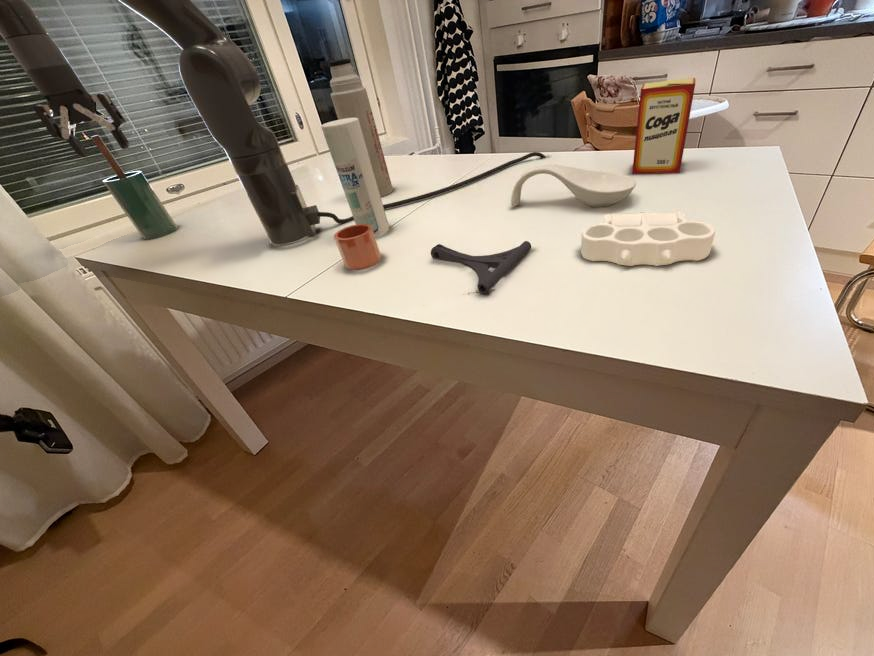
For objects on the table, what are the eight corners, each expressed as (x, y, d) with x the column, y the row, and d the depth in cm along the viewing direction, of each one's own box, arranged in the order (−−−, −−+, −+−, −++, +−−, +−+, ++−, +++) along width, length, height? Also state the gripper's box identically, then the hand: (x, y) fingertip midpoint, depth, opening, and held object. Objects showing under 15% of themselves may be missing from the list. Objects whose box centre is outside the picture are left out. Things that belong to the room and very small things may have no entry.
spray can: (352, 238, 80) (312, 127, 67) (372, 225, 84) (337, 118, 72) (378, 240, 77) (341, 125, 65) (396, 227, 82) (365, 116, 69)
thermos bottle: (397, 186, 104) (363, 55, 87) (386, 197, 99) (346, 58, 81) (370, 189, 106) (331, 60, 88) (357, 199, 101) (313, 64, 83)
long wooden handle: (170, 225, 104) (109, 132, 90) (165, 231, 101) (100, 135, 87) (153, 229, 104) (88, 136, 90) (147, 235, 100) (78, 139, 86)
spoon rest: (634, 189, 79) (638, 150, 75) (634, 212, 71) (639, 169, 66) (518, 195, 86) (516, 159, 82) (506, 216, 78) (503, 177, 73)
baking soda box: (632, 174, 86) (641, 86, 76) (635, 165, 91) (644, 81, 81) (679, 172, 83) (695, 81, 73) (680, 163, 87) (695, 75, 77)
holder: (380, 252, 73) (370, 220, 69) (383, 266, 68) (373, 233, 64) (346, 261, 72) (334, 229, 68) (347, 276, 67) (333, 243, 63)
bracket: (457, 241, 72) (454, 227, 70) (531, 250, 65) (530, 234, 63) (408, 280, 63) (404, 264, 61) (488, 295, 56) (485, 278, 54)
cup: (181, 224, 106) (146, 168, 97) (172, 234, 100) (133, 176, 91) (150, 231, 105) (111, 176, 96) (138, 241, 99) (96, 184, 90)
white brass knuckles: (700, 226, 63) (716, 270, 52) (584, 229, 68) (578, 270, 58) (705, 205, 61) (723, 247, 50) (585, 210, 66) (578, 249, 55)
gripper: (92, 59, 84) (144, 143, 94) (19, 71, 82) (80, 156, 92) (75, 59, 78) (132, 148, 89) (-5, 72, 76) (64, 162, 87)
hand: (106, 152), depth 90 cm, fingers open, 8 cm apart
